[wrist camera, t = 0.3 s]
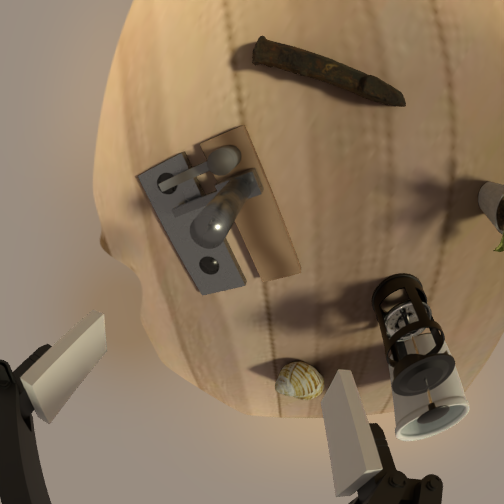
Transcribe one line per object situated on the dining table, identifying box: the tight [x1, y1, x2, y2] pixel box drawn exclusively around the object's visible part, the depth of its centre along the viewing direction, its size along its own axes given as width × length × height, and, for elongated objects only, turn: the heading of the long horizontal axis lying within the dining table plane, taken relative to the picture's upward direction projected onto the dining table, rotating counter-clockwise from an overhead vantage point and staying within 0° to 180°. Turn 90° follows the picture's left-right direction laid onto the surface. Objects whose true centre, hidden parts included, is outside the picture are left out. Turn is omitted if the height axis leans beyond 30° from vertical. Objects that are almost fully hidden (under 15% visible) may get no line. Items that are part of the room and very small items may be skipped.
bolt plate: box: [138, 152, 247, 295], centre depth 40 cm, size 8×22×1 cm, turn 22°
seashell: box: [275, 361, 324, 400], centre depth 51 cm, size 10×10×10 cm
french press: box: [372, 273, 455, 424], centre depth 31 cm, size 12×9×23 cm
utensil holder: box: [389, 334, 469, 441], centre depth 39 cm, size 15×15×18 cm
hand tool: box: [252, 36, 406, 107], centre depth 25 cm, size 19×4×5 cm, turn 71°
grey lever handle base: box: [158, 125, 301, 282], centre depth 36 cm, size 14×22×6 cm, turn 22°
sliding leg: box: [171, 168, 264, 249], centre depth 29 cm, size 13×3×14 cm, turn 112°
